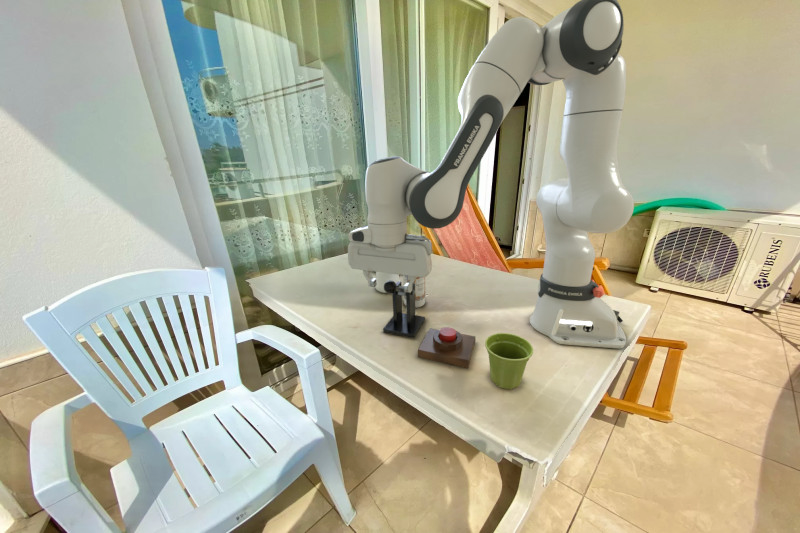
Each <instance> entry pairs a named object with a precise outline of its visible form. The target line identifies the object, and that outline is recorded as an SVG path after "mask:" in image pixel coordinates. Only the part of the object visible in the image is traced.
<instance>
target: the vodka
mask: <svg viewBox="0 0 800 533" xmlns="http://www.w3.org/2000/svg"><path fill="white" fill-rule="evenodd" d="M375 279H376V283H377V285H376V286H375V287H374V288H375V289H376V291H377V292H379V293H382V294H388V293H387V292H385V290H384V284H385V283H386V282H387V281H390V280H391V281H394V282H395V283H397V282H398V281H401V279H400V275H399V274H391V273H383V272H375Z"/></svg>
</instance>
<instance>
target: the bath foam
mask: <svg viewBox="0 0 800 533" xmlns="http://www.w3.org/2000/svg"><path fill="white" fill-rule="evenodd" d="M409 282H410V280H409V279H408V276H407V275H402V284H403V285H402V286H404V285H405V284H406V283H409ZM413 283H415V309H417V308H420V307H422V306H424V305H425V303H426V277H425V278H423V277H417V278H416V279H415V281H414V282H413ZM403 304H404V305H405V306H406V296H403Z"/></svg>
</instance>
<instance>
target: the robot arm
mask: <svg viewBox="0 0 800 533" xmlns="http://www.w3.org/2000/svg"><path fill="white" fill-rule="evenodd" d="M623 13H624V12H623V10H622V7H621V5H620V3H619V1H618V0H579V1H577V2H576V3H575V4H573V5H572V6H571V7H568V8H567V9H565V10H563V11H562V12H560V13H559V14H557V15H555V16H554V17H552V18H551V19H550V20H549V21H548V22H546V23H545V24H544V25H542V26H539V25H538V24H537V23H536V22H535V21H534V20H532V19H531V18H528V17H524V16H516V17H512V18H510V19H508V20H507V21H505V22H504V23H503V24H502V25H501V26H500V28H498V30H497V31H496V32H495V34H494V35H493V36H492V37H491V39H490V40H489V41H488V43H487V44H486V45H485V46H484V48H483V49H482V50H481V52H480V54H479V55H478V56H477V59H476V60H475V61H474V62H473V65H472V66H471V68H470V70H469V72H468V73H467V76H466V78H465V79H464V82H463V84H462V86H461V89H460V92H459V94H458V96H457V106H458V111H459V113H460V116H461V121H460V124H459V128H458V131H457V133H456V134H455V136H454V137H453V140H452V142H451V143H450V145H449V147H448V149H447V150H446V152H445V154H444V156H443V157H442V159H441V161H440V163H439V164H438V166H437V167H436V168H435V169H433V171H431V172H430V171H427V170H425V169H422V168H420V167H417V166H415V165H413V164H411V163H409V162H408V161H406V160H405V159H403V157H401V156H397V155H394V156H388V157H383V158H379V159H377V160H373V161H372V162H370V164H369V165H368V166H367V168H366V170H365V179H364V180H365V187H364V190H365V203H366V205H367V211H368V214H367V218H366V220H367V224H365V225H363V226H360V227H358V228H355V229H353V230H352V231H350V232H348V236H347V237H348V240H349V241H350V242H349V243H348V246H347V262H348V265H349V267H350V268H351V269H353V270H360V271H362V274H363V276H364V278H365V279H366V280H367V285H368V287H369V288H375V286H376V285H377V283H376V277H374V276H373V274H372V272H375V273H376V272H383V273H391V274H399V276H400V275H401V276H403V275H407V276H408V279H409V280H410V282H409V283H406V284H405V285H404V292H409V293H411V291H412V284H413V282H414V281H415V279H416V278H417V277H423V278H425V279H426V278H427V277H428V276H429V275H430V274H431V273H432V270H433V264H432V263H433V262H432V255H431V254H432V253H433V242H432V241H431V240H430V239H429V238H427V236H425V235H415V234H408V217H409V216H412V217H413V218H414V220H415V222H417V223H418V224H419V225H421V226H422V227H424V228H427V229H432V230H433V229H442V228H444V227H447V226H449V225H451V224H452V223H454V221H456V219H457V218H458V217H459V215H460V213H461V212H462V210H463V207H464V203H465V196H466V192H467V189H468V185H469V183H470V181H471V179H472V178H473V175H474V173H475V172H476V170H477V169H478V166H479V164H480V163H481V161H482V159H483V158H484V156H485V154H486V152H487V151H488V148H489V147H490V145H491V143H492V141H493V140H494V138H495V136H496V134H497V132H498V131H499V128H500V126H501V125H502V122H503V121H504V120H505V118H506V117H507V115H508V114H509V112H510V110H511V109H512V108H513V106H514V105H515V103H516V101H517V100H518V98H519V97H520V96H521V93H523V91H524V89H525V87H526V86H527V84H530V85H534V86H546V85H549V84H551V83H556V82H559V81H562V83H563V85H564V89H565V101H564V102H565V103H564V108H563V116H562V123H561V131H560V138H559V139H560V140H559V148H558V153H559V156H560V158H561V160H562V161H563V162H564V164H565V169H566V174H567V177H563V178H558V179H553V180H550V181H548V182H545V183H544V184H543V185H542V186H541V187H540V188H539V190H538V192H537V194H536V198H535V199H536V201H535V202H536V207H537V209H538V211H539V214H540V216H541V220H542V224H543V231H544V240H545V253H544V260H543V261H544V263H543V268H542V273H541V274H540V278H539V279H538V280H539V281H538V286H537V295H538V296H537V300H536V304H535V306H534V309H533V312H532V314H531V316H530V317H529V324H530V325H531V327H532V328H533V329H535V331H537V332H539V333H541V334H543V335H544V336H547V337H548V338H550V339H551V340H552V341H553V342H554V343H557V344H559V345H565V346H567V345H569V346H581V347H593V348H608V349H623V348H624V347H625V346H626V344H627V337H626V334H625V331H624V330H623V329H622V327H621V326H620V325H619V324H620V323H621V324H622V323H623V321H624V320H623V319H622V317H621V316H620V311H618V310H615V309H613V308H612V307H611V306H610V305H609V304H608V303H607V302H605V301H604V300H603V299H601V298H602V297H604V292H603V290H602V288H601V287H599V285H598V284H597V283H596V282H595V281H594V279H592V274H593V269H594V265H595V260H596V251H595V247H594V246H593V244H592V243H591V240H590V238H589V233H591V234H612V233H616V232H617V231H619V230H621V229H622V228H623V227H625V226H626V225H627V224H628V222H629V221H630V220H631V218H632V216H633V213H634V211H635V210H634V209H635V200H634V198H633V195H632V194H631V192H630V191H628V189H627V188H626V186H625V184H624V183H623V180H622V176H621V173H620V168H619V161H618V144H619V138H620V131H621V125H622V118H623V113H624V112H623V111H624V107H625V100H626V91H627V90H626V89H627V62H626V60H625V58H624V56H622V55H621V54H620V53H619V52H620V50H621V48H622V45H623V35H624V27H625V24H624V14H623ZM618 323H619V324H618Z"/></svg>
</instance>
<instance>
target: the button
mask: <svg viewBox="0 0 800 533" xmlns="http://www.w3.org/2000/svg"><path fill="white" fill-rule="evenodd" d="M439 330H440V336H439V337H440V339H441V340H442V341H445V342H453V341H455V340H456V331H457V330H456V329H454V327H449V326H446V327H442V328H440V329H439Z"/></svg>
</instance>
